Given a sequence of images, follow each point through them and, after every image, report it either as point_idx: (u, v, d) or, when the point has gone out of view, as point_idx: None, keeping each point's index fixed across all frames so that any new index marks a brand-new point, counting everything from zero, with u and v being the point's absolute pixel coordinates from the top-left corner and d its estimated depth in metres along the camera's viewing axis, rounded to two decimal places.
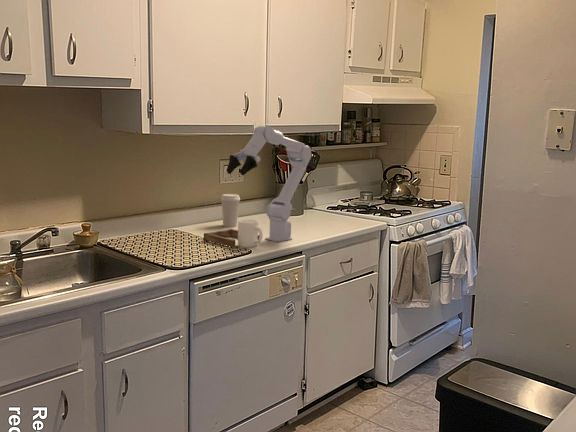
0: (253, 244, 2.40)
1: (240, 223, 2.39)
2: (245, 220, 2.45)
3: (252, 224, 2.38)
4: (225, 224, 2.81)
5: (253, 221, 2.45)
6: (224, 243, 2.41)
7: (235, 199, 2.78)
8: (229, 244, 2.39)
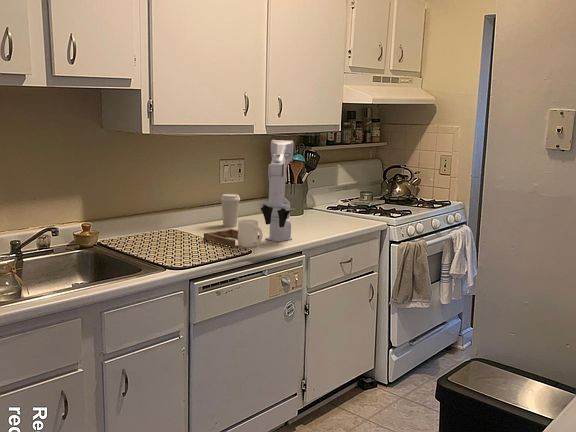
0: (253, 244, 2.40)
1: (240, 223, 2.39)
2: (246, 220, 2.45)
3: (252, 224, 2.38)
4: (225, 224, 2.81)
5: (253, 221, 2.45)
6: (224, 243, 2.41)
7: (235, 199, 2.78)
8: (229, 244, 2.39)
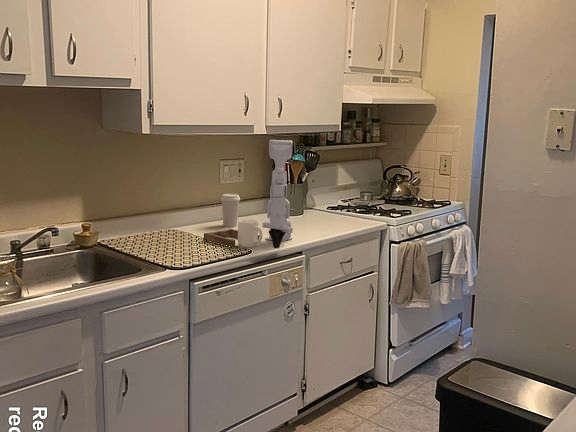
0: (253, 244, 2.40)
1: (240, 223, 2.39)
2: (245, 220, 2.45)
3: (252, 224, 2.38)
4: (225, 224, 2.81)
5: (253, 221, 2.45)
6: (224, 243, 2.41)
7: (235, 199, 2.78)
8: (229, 244, 2.39)
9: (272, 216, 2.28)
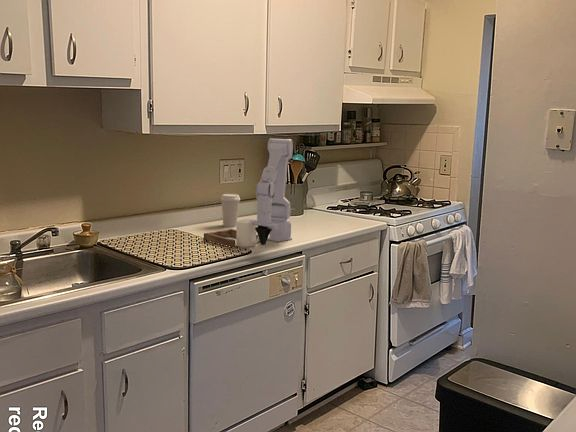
0: (251, 244, 2.41)
1: (238, 223, 2.39)
2: (244, 220, 2.46)
3: (250, 223, 2.38)
4: (225, 224, 2.81)
5: None
6: (224, 243, 2.41)
7: (235, 199, 2.78)
8: (229, 244, 2.39)
9: (258, 213, 2.33)
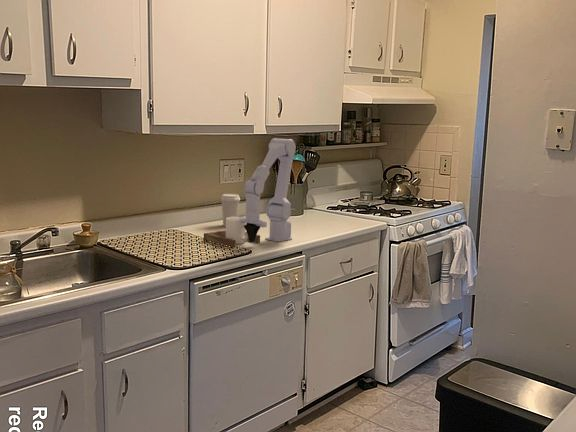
0: (241, 241, 2.45)
1: (228, 220, 2.43)
2: (233, 218, 2.50)
3: (239, 221, 2.43)
4: (225, 224, 2.81)
5: None
6: (224, 243, 2.41)
7: (235, 199, 2.78)
8: (229, 244, 2.39)
9: (247, 211, 2.37)
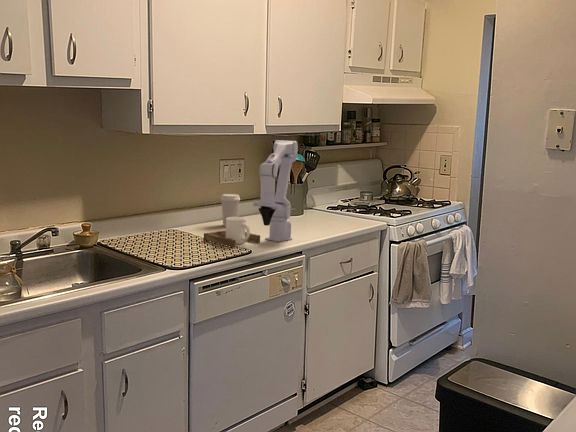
0: (241, 241, 2.45)
1: (228, 220, 2.43)
2: (233, 218, 2.50)
3: (239, 221, 2.43)
4: (225, 224, 2.81)
5: (241, 218, 2.50)
6: (224, 243, 2.41)
7: (235, 199, 2.78)
8: (229, 244, 2.39)
9: (262, 194, 2.35)
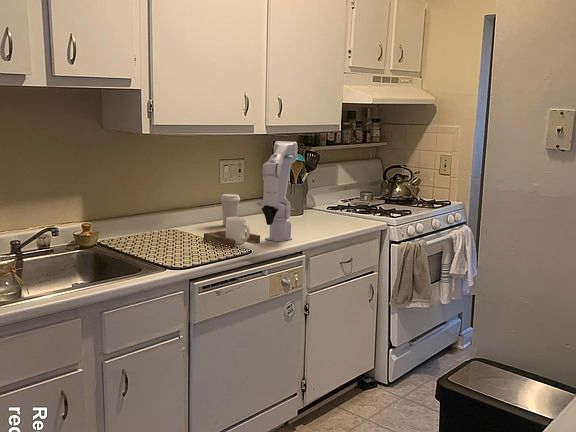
0: (241, 241, 2.45)
1: (228, 220, 2.43)
2: (233, 218, 2.50)
3: (239, 221, 2.43)
4: (225, 224, 2.81)
5: (241, 218, 2.50)
6: (224, 243, 2.41)
7: (235, 199, 2.78)
8: (229, 244, 2.39)
9: (265, 193, 2.36)
